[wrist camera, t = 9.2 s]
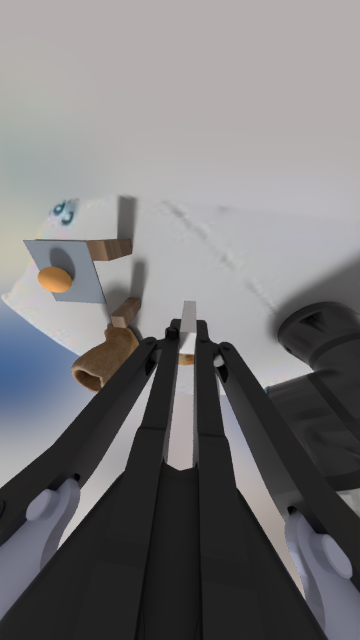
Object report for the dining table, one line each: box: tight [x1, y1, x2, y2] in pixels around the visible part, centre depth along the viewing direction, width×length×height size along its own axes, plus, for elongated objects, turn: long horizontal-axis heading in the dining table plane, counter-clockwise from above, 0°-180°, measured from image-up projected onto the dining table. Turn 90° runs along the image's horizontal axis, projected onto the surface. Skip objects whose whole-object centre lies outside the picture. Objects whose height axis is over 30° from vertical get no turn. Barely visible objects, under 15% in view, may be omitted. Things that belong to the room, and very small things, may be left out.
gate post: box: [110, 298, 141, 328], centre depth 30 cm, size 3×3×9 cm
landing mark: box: [23, 240, 106, 304], centre depth 31 cm, size 14×14×1 cm
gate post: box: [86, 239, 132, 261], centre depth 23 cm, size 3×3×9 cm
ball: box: [38, 267, 72, 293], centre depth 29 cm, size 6×6×6 cm
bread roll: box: [178, 353, 194, 365], centre depth 38 cm, size 10×10×8 cm
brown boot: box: [71, 326, 139, 393], centre depth 36 cm, size 15×12×15 cm
